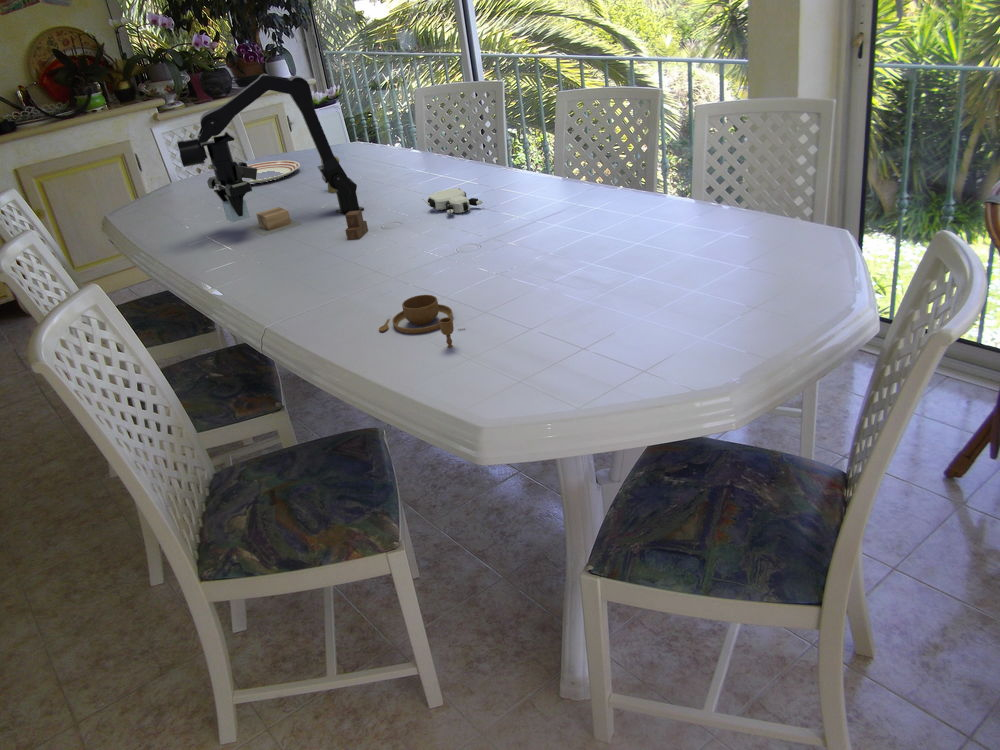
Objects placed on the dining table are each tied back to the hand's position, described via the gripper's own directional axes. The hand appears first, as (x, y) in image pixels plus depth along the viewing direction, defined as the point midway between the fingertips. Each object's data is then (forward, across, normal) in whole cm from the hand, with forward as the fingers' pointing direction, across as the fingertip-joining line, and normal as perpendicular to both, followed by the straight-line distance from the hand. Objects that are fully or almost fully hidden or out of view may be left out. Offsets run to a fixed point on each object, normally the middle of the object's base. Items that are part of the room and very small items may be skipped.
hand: (237, 214), depth 232 cm
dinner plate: (+7, +67, -34) cm, 75 cm away
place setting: (+7, -102, +3) cm, 102 cm away
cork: (+6, +19, -40) cm, 45 cm away
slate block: (+1, 0, 0) cm, 1 cm away
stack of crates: (+7, -34, -21) cm, 41 cm away
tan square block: (+6, -1, -10) cm, 11 cm away
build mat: (+6, -1, -9) cm, 11 cm away
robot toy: (+7, -38, -48) cm, 62 cm away
